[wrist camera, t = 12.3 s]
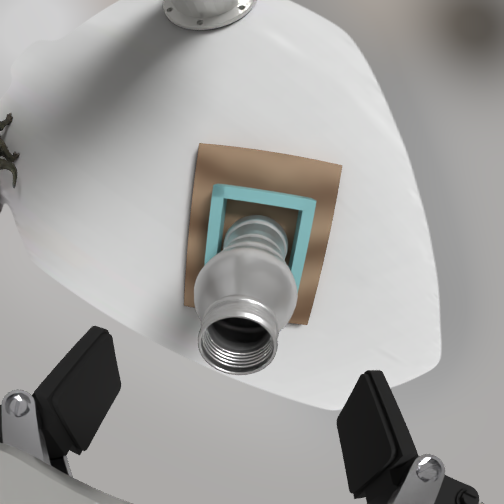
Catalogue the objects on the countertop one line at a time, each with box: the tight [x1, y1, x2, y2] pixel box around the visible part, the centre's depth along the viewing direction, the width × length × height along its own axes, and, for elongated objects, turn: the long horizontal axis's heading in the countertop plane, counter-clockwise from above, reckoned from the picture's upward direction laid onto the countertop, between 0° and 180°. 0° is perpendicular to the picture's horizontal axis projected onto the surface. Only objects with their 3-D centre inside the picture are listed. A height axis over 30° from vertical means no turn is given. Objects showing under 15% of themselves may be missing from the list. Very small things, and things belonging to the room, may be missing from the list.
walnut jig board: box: [184, 143, 342, 325], centre depth 30 cm, size 20×16×4 cm
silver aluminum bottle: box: [194, 215, 298, 375], centre depth 22 cm, size 6×7×20 cm
